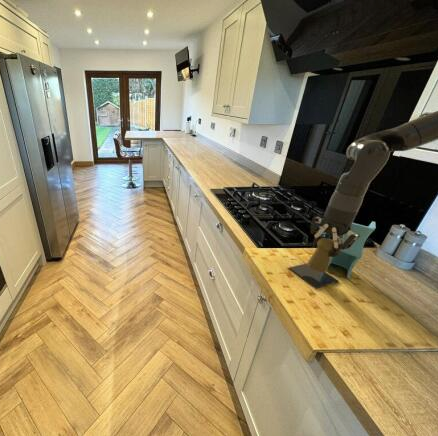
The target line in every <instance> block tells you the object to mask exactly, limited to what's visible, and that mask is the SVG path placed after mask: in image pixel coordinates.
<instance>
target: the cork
mask: <svg viewBox="0 0 438 436" xmlns="http://www.w3.org/2000/svg"><path fill="white" fill-rule="evenodd" d="M317 246H318V247H317V248H315V250H314V251H313V253H312V255H311V256H310V258H309V259H308V261H307V262H306V263H307V265H308V266H309V267H310V268H311V269H313V270H315V271H318V272H326V273H327V271H328V268H329V266H330V265H329V261H330V256H329V255H330V252H331V250H332V248H333V247H334V241H333V239H331V238H327V237H322V238H321V239H319V240H318V242H317ZM328 265H329V266H328Z"/></svg>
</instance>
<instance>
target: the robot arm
mask: <svg viewBox="0 0 438 436" xmlns="http://www.w3.org/2000/svg"><path fill="white" fill-rule="evenodd" d="M435 141H438V110H436V111H433V112H431V113H428V114H424V115H422V116H420V117H417V118H415V119H412V120H410V121H407V122H405V123H403V124H401V125H397V126H396V127H392V128H389V129H385V130H381V131H378V132H375V133H372V134H368V135H365V136H362V137H360V138H358V139H356V140H354V141H352V142H351V144H350V145H349V146H347V149H346V152H345V153H346V154H345V155H346V157H347V159H348V160H349V161H350V162H352V163H353V165H352V166H351V168H350V170H349V171H345V172H343V174H341V176H340V178H339V180H338V182H337V185H336V187H335V189H334V192H333V193H332V195H331V197H330V199H329V202H328V204H327V206H326V209H325V212H324V214H323V217H321V216H314V217H312V219H311V226H310V234H311V235H313V236H314V239H313V241H312V248H314V249H316V248H317V247H318V246H317V242H318V240H319V239H321V238H324V236H325V235H326V234H327V235H329V236H331V237H332V240H333V241H334V247H333V248H332V250H331V252H330V255H329V256H330V257H335V256H337V255H338V254H339V252H340V250H341V249H342V250H344V249H349V248H350V247H351V246H352V245H353V243H354V242H355V241H356V240H357V239H358V238H359V237H360V235H359V234H355V233H353V232H352V231H351V228H350V227H351V224H352V223H354V221H355V219H356V216H357V215H358V213H359V210H360V208H361V206H362V204H363V201H364V197H365V195H366V193H367V191H368V189H369V187H370V184H371V182H372V181H373V180H374V179H375V178H376V177H377V175H378V174H379V173H380V172H381V171H382V169H383V168H384V167H385V165H386V164H387V162H388V160H389V158H390V155H391V153H393V152H406V151H407V152H408V151H410V150H411V151H412V150H414V149H416V148H419V147H422V146H425V145H428V144H429V143H433V142H435ZM321 226H322V227H321ZM320 227H321V228H320ZM346 233H347V234H348V235H347V238H348V239H347V240H346V241H345V242H344V243H343V240H344V234H346Z"/></svg>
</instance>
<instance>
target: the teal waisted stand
mask: <svg viewBox="0 0 438 436" xmlns="http://www.w3.org/2000/svg"><path fill="white" fill-rule="evenodd" d="M376 226H377V225H376V221H373V220H372V221H371V223H370V224H369V225H368V226H366V225H363V224H359V223H356V222H353V223H352V224H351V227H350V228H351V231H352V232H353V233H355V234H359V235H360V237H359V238H358V239H357V240H356V241H355V242H354V243H353V245H352V246H351V247H350V248H349V249H344V250H342V249H341V250H340V252H339V254H338V255H337V256H335V257H330V261H329V265H328V267H330V265H331V264H334V265H337V266H339V267H342V268H344V269H345V270H347V272H346V279H351V275H352V271H353V269H354V267H355V266H356V264H357V263H358V262H359V261H360V260H361V259H362V257H363V251H364V246H365V243H366V241H367V239H368V238H369V237H370V235H371V234H372V233H373V232H375V229H376V228H377V227H376ZM347 235H348V234H347V233H346V234H344V240H343V243H344V242H345V241H346V240H347V239H348V238H347Z"/></svg>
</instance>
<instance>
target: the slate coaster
mask: <svg viewBox="0 0 438 436" xmlns="http://www.w3.org/2000/svg"><path fill="white" fill-rule="evenodd" d="M307 263H308V262H306V263H303V264H302V263H301V264H298V265H294V266H290V267H288V270H289V271H291V272H292V273H294V274H295V275H296V276H298V277H299V278H301V280H304V282H306V284H309V285H310V286H311V287H313V288H314V289H319V288H323V287H327V286H329V285H330V286H331V285H334V284H338V283H339V282H340V280H339V279H337V278H336V277H334V276H332V275H331V274H329V273H328V272H327V271H326V272H318V271H315V270H313V269H311V268H310V267H309V266H308V265H307Z"/></svg>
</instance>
